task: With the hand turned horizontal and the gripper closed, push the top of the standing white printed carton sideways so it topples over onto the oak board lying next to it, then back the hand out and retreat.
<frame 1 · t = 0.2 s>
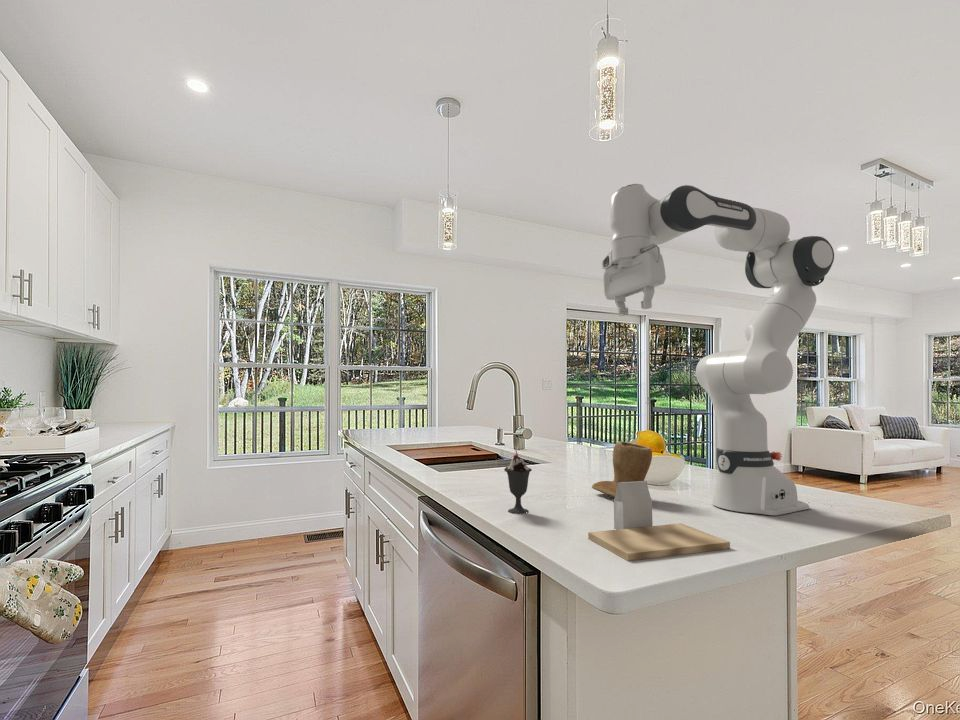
hand: (634, 312, 121), 47 cm above the countertop, tool pointing down, fingers open, 8 cm apart
sundae: (518, 512, 124), on the countertop
oak board: (657, 543, 99), on the countertop
white printed carton: (633, 531, 108), on the countertop
brown suede boot: (625, 498, 139), on the countertop
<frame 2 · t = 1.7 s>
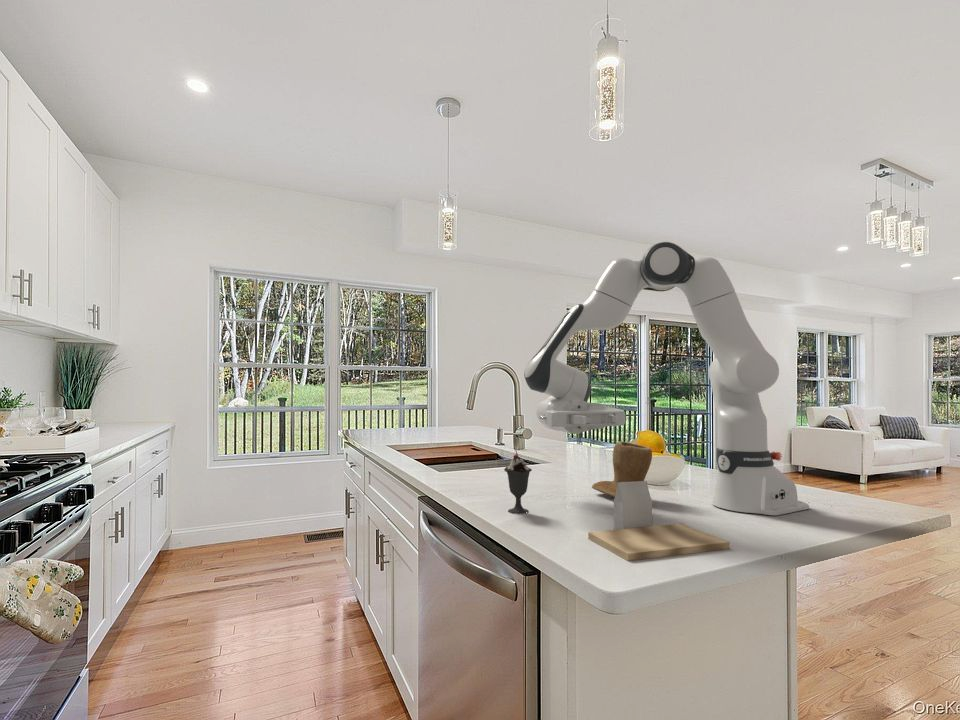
hand: (601, 420, 121), 22 cm above the countertop, tool horizontal, fingers open, 6 cm apart
nothing on the countertop moved.
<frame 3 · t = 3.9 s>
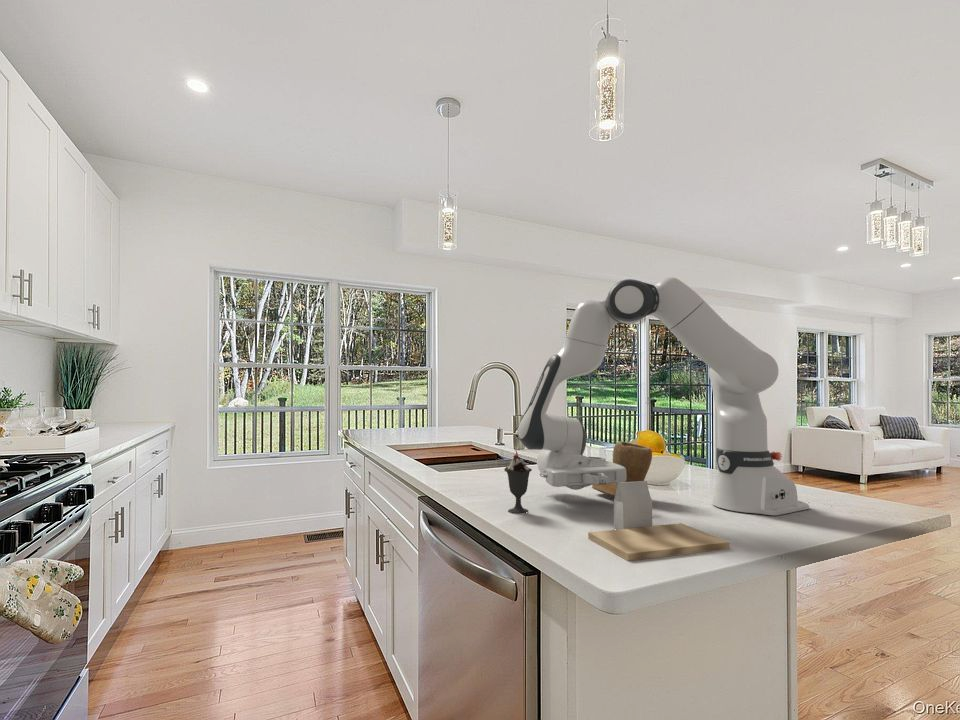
hand: (602, 480, 120), 8 cm above the countertop, tool horizontal, fingers closed
nothing on the countertop moved.
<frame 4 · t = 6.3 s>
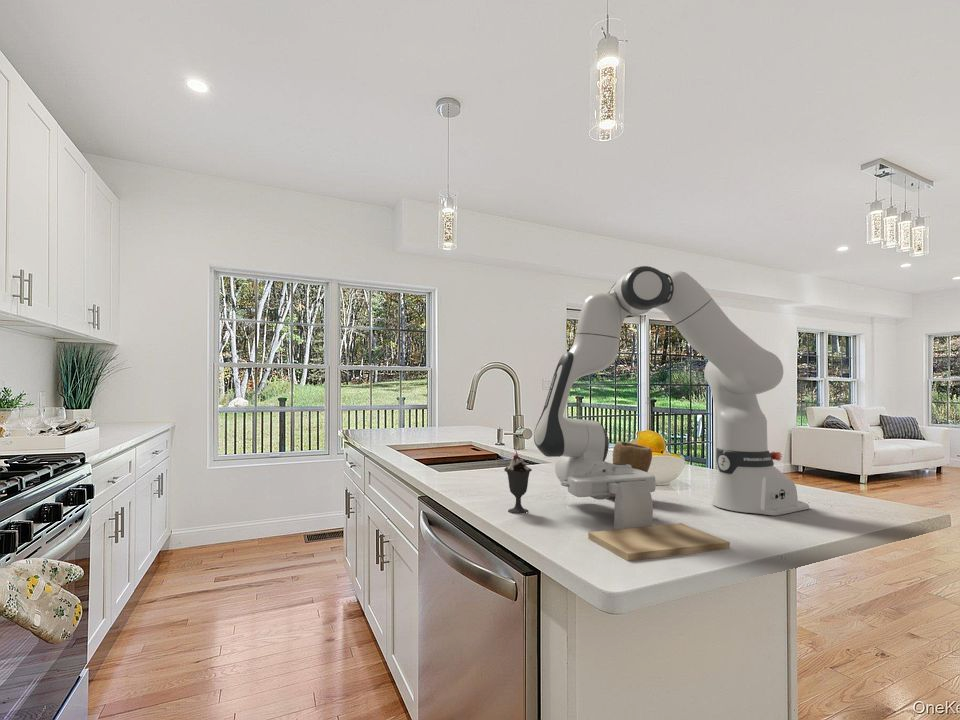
hand: (631, 490, 109), 8 cm above the countertop, tool horizontal, fingers closed
white printed carton: (633, 530, 108), on the countertop, touching gripper
everything else where it was.
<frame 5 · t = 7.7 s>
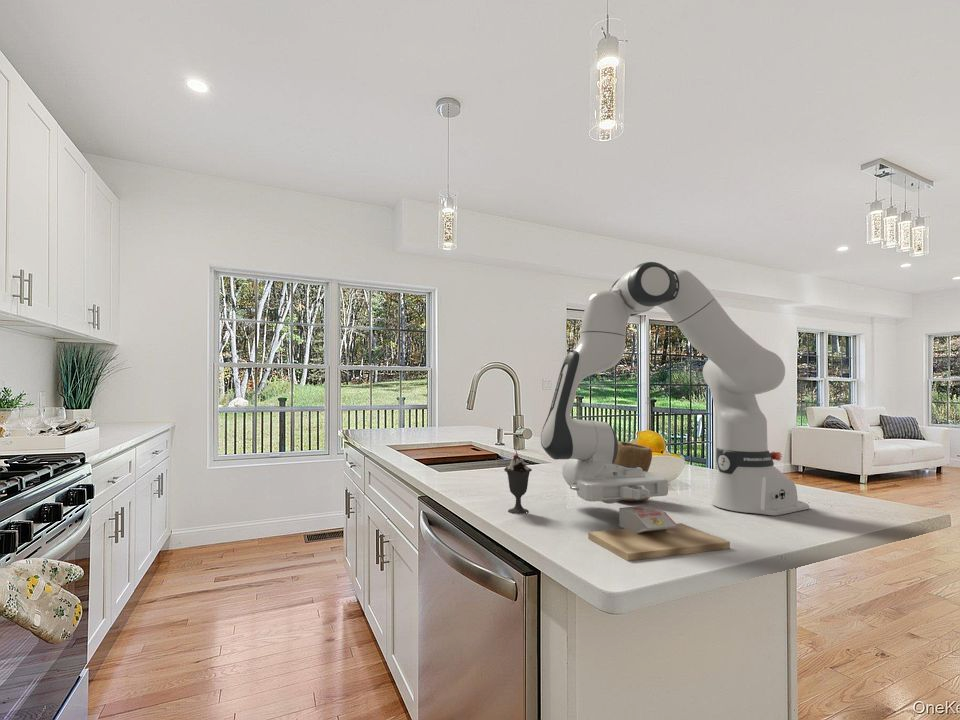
hand: (644, 495, 105), 8 cm above the countertop, tool horizontal, fingers closed
white printed carton: (632, 515, 108), point 3 cm above the countertop, touching oak board
everything else where it was.
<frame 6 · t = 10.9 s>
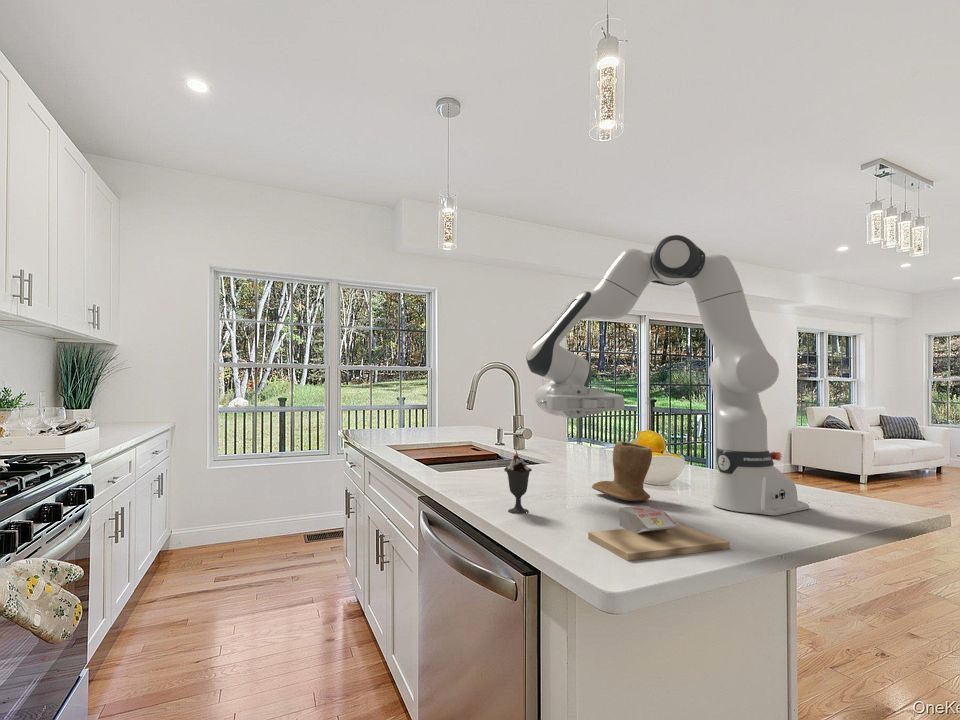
hand: (601, 404, 122), 26 cm above the countertop, tool horizontal, fingers closed
nothing on the countertop moved.
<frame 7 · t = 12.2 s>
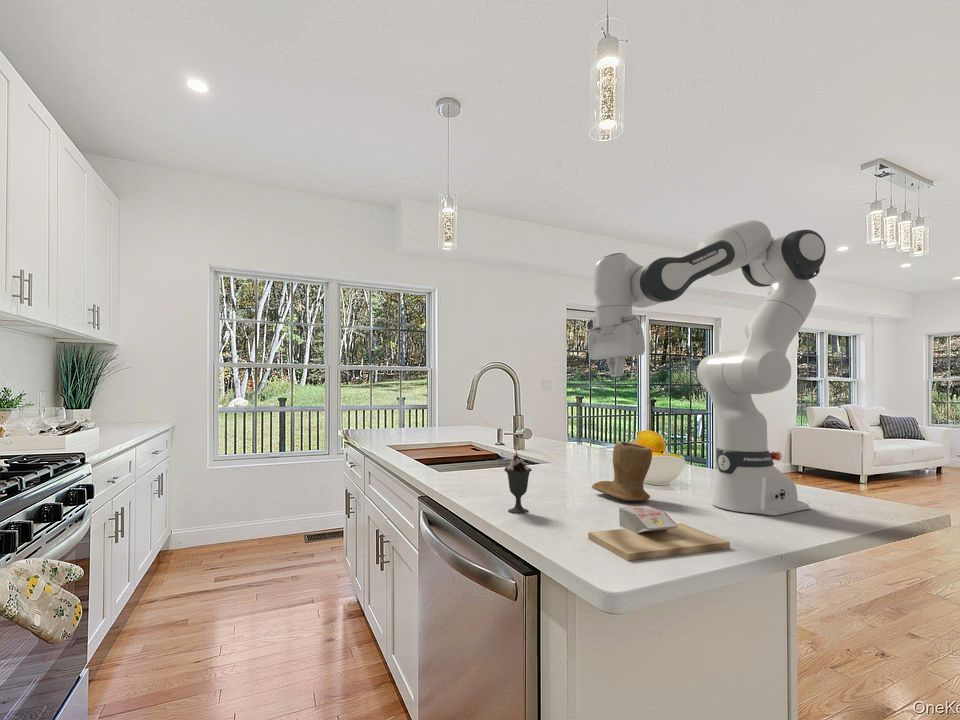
hand: (616, 376, 126), 32 cm above the countertop, tool pointing down, fingers closed
nothing on the countertop moved.
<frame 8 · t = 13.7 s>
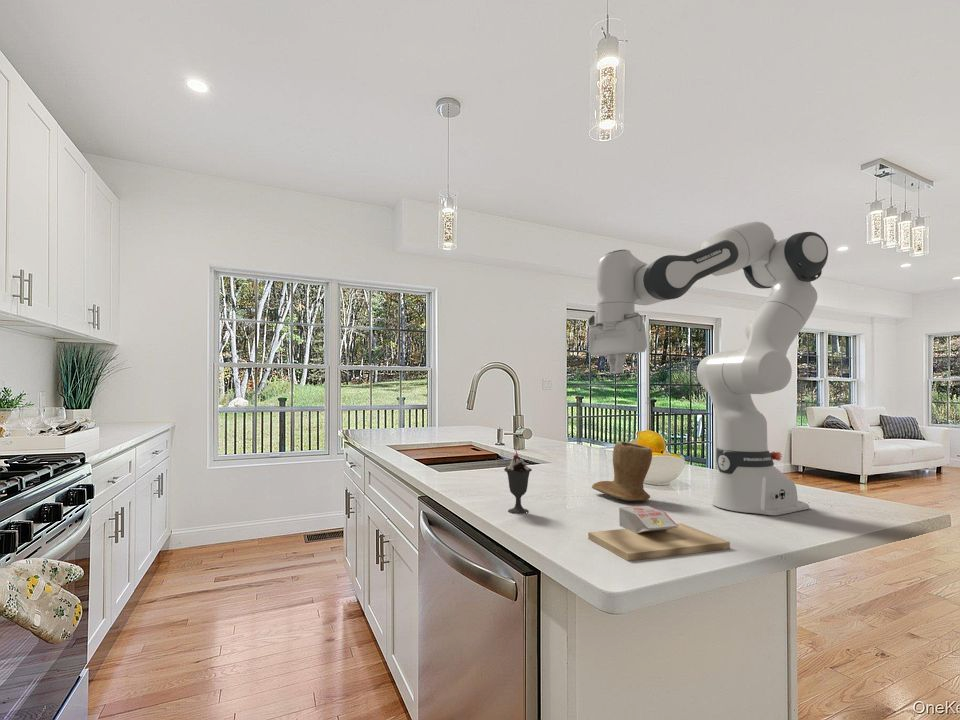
hand: (616, 373, 126), 33 cm above the countertop, tool pointing down, fingers closed
nothing on the countertop moved.
at the end: white printed carton tilted 90°; white printed carton inside the target area (8.6 cm from its centre), point 3.0 cm above the countertop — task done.
